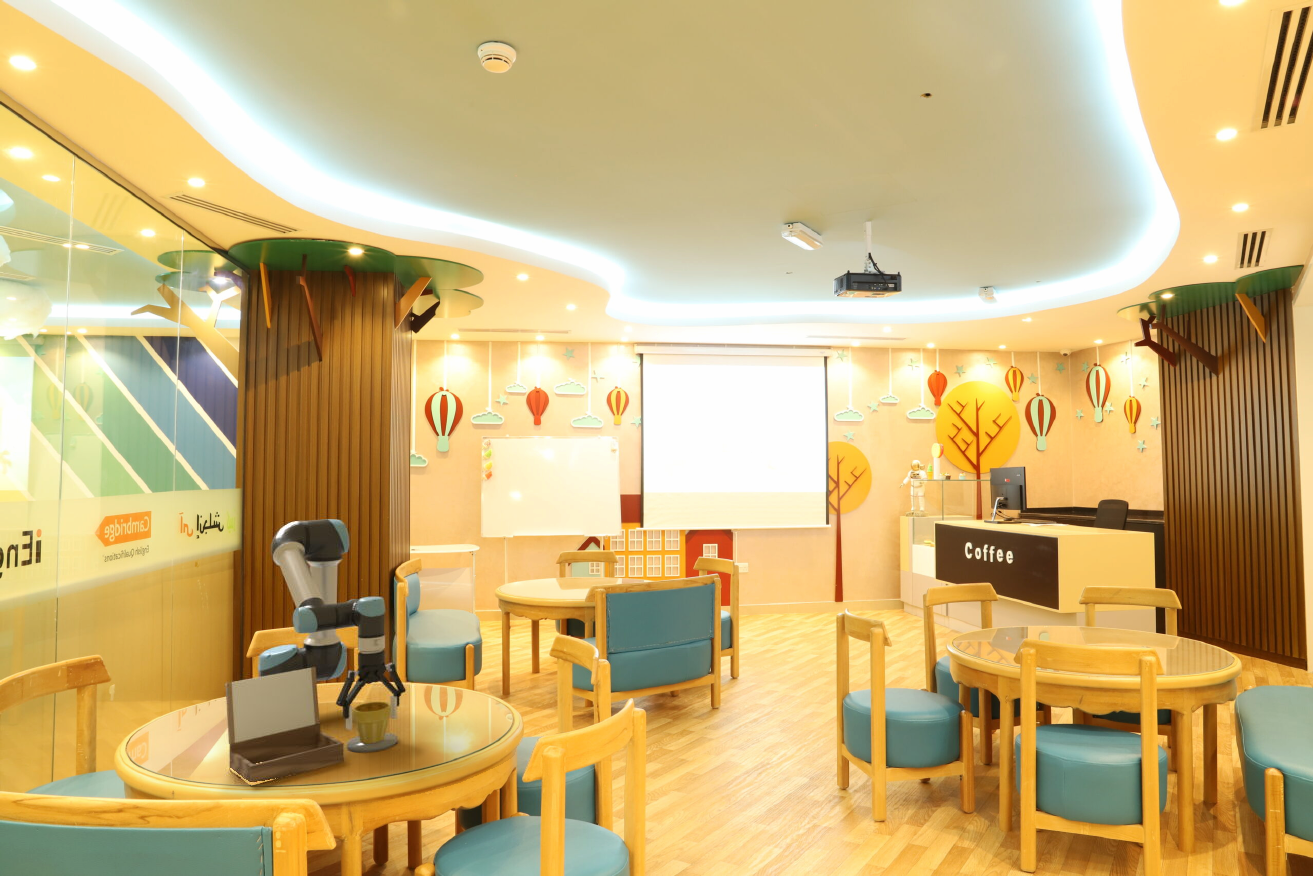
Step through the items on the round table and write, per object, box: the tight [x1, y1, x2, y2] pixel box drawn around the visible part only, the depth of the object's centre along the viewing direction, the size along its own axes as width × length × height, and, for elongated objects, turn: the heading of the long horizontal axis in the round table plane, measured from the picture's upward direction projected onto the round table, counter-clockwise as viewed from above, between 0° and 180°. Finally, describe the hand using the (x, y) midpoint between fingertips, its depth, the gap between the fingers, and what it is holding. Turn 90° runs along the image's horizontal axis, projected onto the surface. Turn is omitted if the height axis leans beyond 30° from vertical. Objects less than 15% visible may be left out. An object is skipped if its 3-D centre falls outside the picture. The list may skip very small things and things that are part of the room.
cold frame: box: [229, 723, 344, 782], centre depth 222 cm, size 17×24×7 cm
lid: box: [225, 667, 321, 745], centre depth 229 cm, size 4×24×16 cm, turn 134°
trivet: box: [346, 732, 398, 753], centre depth 238 cm, size 14×14×1 cm
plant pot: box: [352, 701, 391, 744], centre depth 238 cm, size 10×10×10 cm
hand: (371, 723), depth 238 cm, fingers open, 13 cm apart
